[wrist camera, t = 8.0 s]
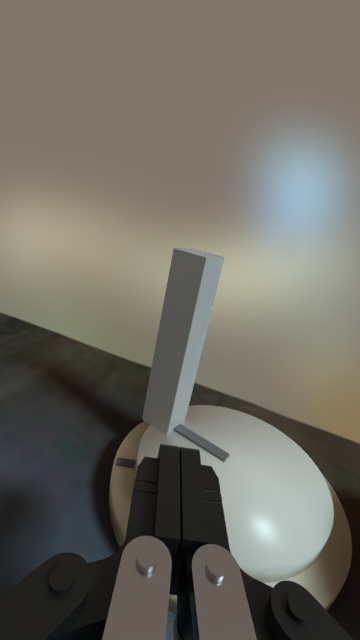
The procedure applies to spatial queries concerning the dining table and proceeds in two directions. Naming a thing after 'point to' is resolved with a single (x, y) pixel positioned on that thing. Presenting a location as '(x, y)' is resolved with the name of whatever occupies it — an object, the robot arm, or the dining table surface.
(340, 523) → the dial base
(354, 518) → the dining table surface
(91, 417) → the dining table surface
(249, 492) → the dial
